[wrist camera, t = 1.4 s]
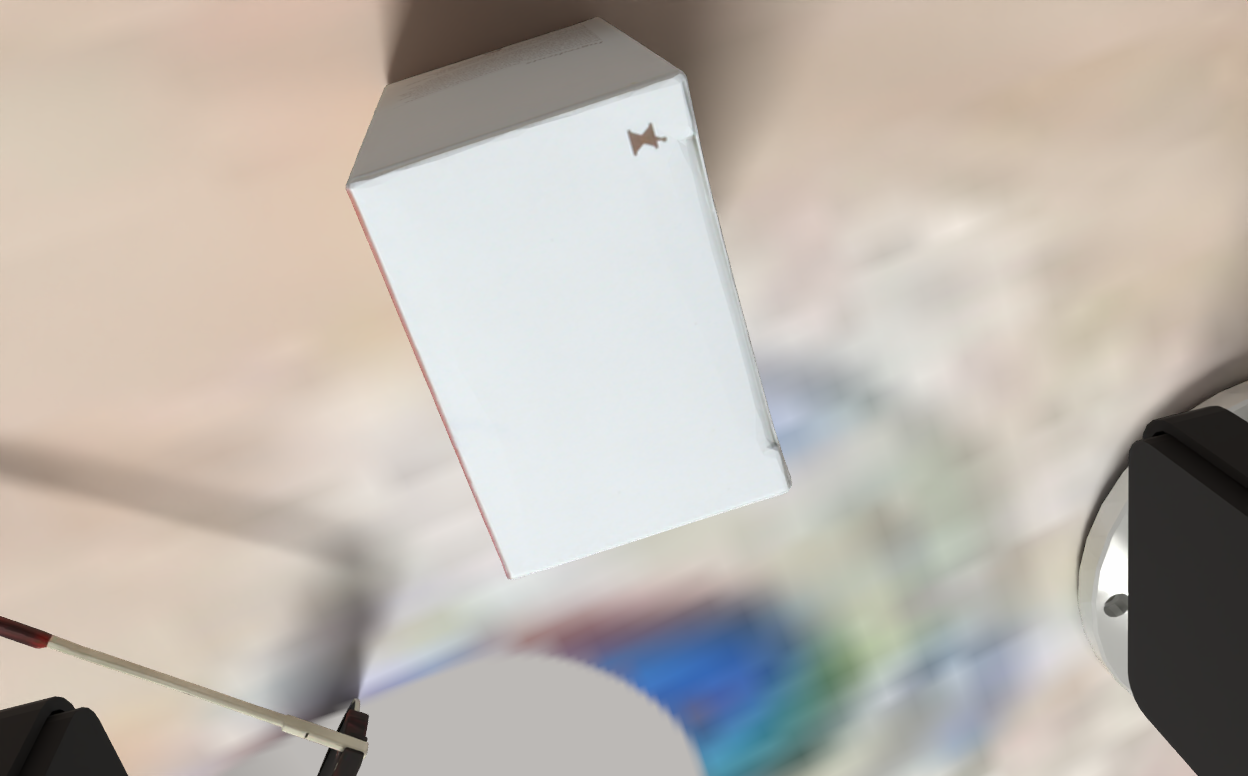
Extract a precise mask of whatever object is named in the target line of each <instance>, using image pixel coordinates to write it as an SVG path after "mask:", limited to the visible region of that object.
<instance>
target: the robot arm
mask: <svg viewBox="0 0 1248 776" xmlns="http://www.w3.org/2000/svg"><path fill="white" fill-rule="evenodd" d="M1078 605H1079V610H1080V615H1081V620H1082V625H1083V629H1084V633H1085V635H1086V637H1087V639H1088V641H1089V643H1090V645H1091V647H1092V649H1093V651H1094V653H1095V655H1096V657H1097V658H1098V659H1099V660H1100V661H1101V663H1102V664H1103V665H1104V666H1105V668H1106V669H1107V670H1108V671H1109V672H1110V674H1111V675H1112V676H1113V677H1114V679H1115V680H1116V681H1117V682H1118V683H1119V684H1120V685H1121V686H1122V687H1123V688H1124V689H1126V690H1127V691H1128V692H1129V693H1130V694H1131V695H1132V696H1133V697H1134V698H1135V701H1136V702H1137V704H1138V706H1139V708H1140V709H1141V711H1142V712H1143V713H1144V715H1145V716H1146V717H1147V719H1148V720H1149V721H1150V722H1151V723H1152V724H1153V725H1154V726H1155V728H1156V729H1157V730H1158V731H1159V732H1160V733H1161V734H1162V736H1163V737H1164V738H1165V739H1166V740H1167V741H1168V742H1169V744H1170V745H1171V746H1172V747H1173V748H1174V749H1175V750H1176V752H1177V753H1178V754H1179V755H1180V756H1181V757H1182V758H1183V759H1184V761H1185V762H1186V763H1187V764H1188V765H1189V766H1190V767H1191V769H1192V770H1193V771H1194V772H1195V773H1196V774H1197V775H1198V776H1248V381H1246V382H1243V383H1241V384H1238V385H1236V386H1234V387H1231V388H1229V389H1227V390H1224V391H1222V392H1219V393H1218V394H1216V395H1214V396H1213V397H1211V398H1209V399H1208V400H1206V401H1204V402H1203V403H1201V404H1200V405H1198V406H1196V407H1195V408H1193V409H1191V410H1190V411H1188V412H1184V413H1180V414H1176V415H1172V416H1168V417H1164V418H1160V419H1156V420H1153V421H1152V422H1150V423H1149V424H1148V425H1147V427H1146V429H1145V431H1144V433H1143V440H1139V441H1136V442H1135V443H1134V444H1132V446H1131V448H1130V451H1129V462H1128V467H1127V468H1126V470H1125V471H1124V472H1123V473H1122V475H1121V476H1120V478H1119V479H1118V481H1117V482H1116V484H1115V485H1114V487H1113V488H1112V490H1111V491H1110V493H1109V495H1108V496H1107V498H1106V499H1105V501H1104V502H1103V504H1102V505H1101V508H1100V510H1099V512H1098V514H1097V517H1096V519H1095V521H1094V524H1093V526H1092V528H1091V530H1090V533H1089V535H1088V537H1087V540H1086V544H1085V549H1084V553H1083V557H1082V561H1081V565H1080V569H1079V589H1078ZM0 776H128V774H127V773H126V771H125V769H124V767H123V765H122V763H121V761H120V759H119V757H118V755H117V753H116V751H115V749H114V747H113V746H112V744H111V742H110V740H109V738H108V736H107V734H106V732H105V730H104V728H103V726H102V724H101V722H100V720H99V719H98V717H97V716H96V714H95V713H94V712H93V711H92V710H90V709H89V708H85V707H81V708H78V709H75V708H74V707H73V705H72V704H71V703H70V702H69V701H67V700H66V699H65V698H62V697H56V696H55V697H51V698H47V699H43V700H39V701H35V702H31V703H27V704H23V705H19V706H15V707H11V708H7V709H3V710H0Z"/></svg>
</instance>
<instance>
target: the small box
mask: <svg viewBox="0 0 1248 776" xmlns="http://www.w3.org/2000/svg"><path fill="white" fill-rule="evenodd" d="M346 191H347V193H348V195H349V197H350V199H351V202H352V204H353V207H354V209H355V211H356V214H357V216H358V219H359V221H360V224H361V226H362V228H363V231H364V233H365V236H366V238H367V240H368V243H369V245H370V247H371V250H372V252H373V255H374V257H375V259H376V262H377V264H378V267H379V269H380V271H381V274H382V276H383V279H384V281H385V284H386V286H387V288H388V291H389V293H390V296H391V298H392V300H393V303H394V305H395V308H396V310H397V313H398V315H399V317H400V320H401V322H402V325H403V327H404V329H405V332H406V334H407V337H408V339H409V342H410V344H411V346H412V349H413V351H414V354H415V356H416V358H417V361H418V363H419V366H420V368H421V371H422V373H423V375H424V378H425V380H426V382H427V385H428V387H429V389H430V392H431V394H432V397H433V399H434V401H435V404H436V406H437V409H438V411H439V414H440V416H441V419H442V421H443V423H444V426H445V428H446V431H447V433H448V435H449V438H450V440H451V443H452V445H453V447H454V450H455V452H456V455H457V457H458V459H459V462H460V464H461V467H462V469H463V471H464V474H465V476H466V479H467V481H468V483H469V486H470V488H471V491H472V493H473V495H474V498H475V500H476V503H477V505H478V508H479V510H480V513H481V515H482V518H483V520H484V522H485V525H486V527H487V529H488V532H489V534H490V536H491V539H492V541H493V543H494V546H495V548H496V550H497V553H498V555H499V557H500V560H501V562H502V565H503V568H504V570H505V573H506V576H507V578H508V579H510V580H514V579H518V578H521V577H523V576H526V575H529V574H532V573H536V572H539V571H543V570H546V569H550V568H553V567H556V566H559V565H562V564H566V563H569V562H572V561H575V560H578V559H581V558H584V557H587V556H590V555H593V554H596V553H599V552H602V551H605V550H608V549H612V548H615V547H618V546H621V545H624V544H627V543H630V542H634V541H637V540H640V539H643V538H646V537H649V536H652V535H655V534H658V533H661V532H664V531H667V530H670V529H674V528H677V527H680V526H683V525H686V524H689V523H692V522H695V521H699V520H702V519H705V518H708V517H711V516H714V515H717V514H721V513H724V512H727V511H730V510H733V509H737V508H740V507H743V506H746V505H749V504H752V503H756V502H759V501H762V500H765V499H768V498H772V497H775V496H778V495H782V494H784V493H786V492H788V491H789V489H790V488H791V486H792V482H791V476H790V474H789V471H788V468H787V465H786V462H785V460H784V457H783V453H782V450H781V447H780V444H779V441H778V438H777V435H776V432H775V429H774V426H773V422H772V419H771V415H770V411H769V408H768V404H767V401H766V397H765V394H764V390H763V387H762V383H761V380H760V376H759V372H758V368H757V364H756V360H755V357H754V353H753V349H752V345H751V341H750V338H749V334H748V330H747V326H746V323H745V319H744V315H743V311H742V308H741V304H740V300H739V297H738V293H737V289H736V285H735V282H734V278H733V274H732V270H731V266H730V262H729V258H728V254H727V250H726V246H725V243H724V239H723V235H722V231H721V227H720V223H719V219H718V215H717V212H716V208H715V204H714V200H713V197H712V192H711V188H710V184H709V180H708V175H707V171H706V166H705V162H704V157H703V153H702V148H701V144H700V139H699V135H698V129H697V124H696V120H695V115H694V110H693V106H692V101H691V96H690V92H689V85H688V80H687V76H686V75H685V73H684V72H683V71H681V70H680V69H678V68H676V67H675V66H673V65H672V64H671V63H669V62H668V61H666V60H665V59H663V58H662V57H660V56H658V55H657V54H655V53H654V52H652V51H651V50H649V49H648V48H646V47H645V46H643V45H642V44H640V43H639V42H637V41H636V40H634V39H633V38H631V37H629V36H628V35H626V34H625V33H624V32H622V31H620V30H619V29H617V28H616V27H614V26H613V25H611V24H609V23H608V22H607V21H605V20H603V19H602V18H600V17H596V18H593V19H590V20H587V21H584V22H581V23H578V24H576V25H573V26H570V27H566V28H563V29H560V30H557V31H554V32H550V33H547V34H544V35H541V36H538V37H535V38H531V39H528V40H525V41H522V42H519V43H516V44H513V45H509V46H506V47H503V48H500V49H497V50H494V51H491V52H488V53H485V54H482V55H479V56H476V57H473V58H470V59H466V60H463V61H460V62H457V63H454V64H451V65H448V66H444V67H441V68H438V69H435V70H432V71H429V72H426V73H423V74H420V75H417V76H413V77H410V78H407V79H404V80H401V81H398V82H395V83H392V84H389V85H387V86H386V87H385V88H384V90H383V93H382V95H381V98H380V100H379V102H378V105H377V108H376V109H375V112H374V115H373V118H372V120H371V123H370V125H369V127H368V130H367V133H366V136H365V138H364V140H363V143H362V145H361V148H360V150H359V153H358V155H357V158H356V161H355V164H354V166H353V168H352V171H351V173H350V176H349V179H348V181H347V184H346Z"/></svg>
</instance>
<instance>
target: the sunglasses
mask: <svg viewBox="0 0 1248 776" xmlns="http://www.w3.org/2000/svg"><path fill="white" fill-rule="evenodd" d="M0 636H2V637H5V638H8V639H11V640H14V641H16V642H19V643H22V644H25V645H28V646H31V647H34V648H44V647H48V648H51V649H54V650H56V651H59V652H62V653H65V654H68V655H71V656H74V657H77V658H80V659H83V660H86V661H89V662H91V663H94V664H97V665H100V666H103V667H106V668H110V669H113V670H116V671H119V672H122V673H125V674H128V675H131V676H134V677H137V678H140V679H143V680H146V681H149V682H152V683H155V684H158V685H161V686H164V687H167V688H170V689H173V690H177V691H180V692H183V693H186V694H188V695H191V696H194V697H197V698H200V699H203V700H206V701H209V702H211V703H214V704H217V705H220V706H223V707H226V708H229V709H231V710H234V711H237V712H240V713H243V714H246V715H249V716H252V717H254V718H257V719H260V720H263V721H266V722H269V723H272V724H274V725H277V726H280V727H282V731H284V732H286V733H289V734H292V735H295V736H298V737H301V738H303V739H305V738H306V739H307V740H309V741H313V742H315V743H318V744H321V745H324V746H327V747H329V748H328V751H327V753H326V756H325V758H324V760H323V763H322V765H321V767H320V770H319V772H318V775H317V776H356V775H357V772H358V770H359V768H360V766H361V763H362V760H363V759H364V758H365V757H366V755H367V751H368V742H367V737H365V736H366V731H367V725H368V718H369V716H368V715H367V714H365V713H362V712H359V710H360V700H359V699H356V698H355V699H353V701H352V706H351V708H350V709H348V710H347V711H346V713H345V715H344V717H343V719H342V721H341V723H340V725H339V727H338V729H337V731H334V730H331V729H328V728H325V727H322V726H320V725H317V724H314V723H311V722H308V721H305V720H302V719H300V718H297V717H294V716H291V715H284V714H281V713H278V712H275V711H272V710H269V709H266V708H263V707H259V706H256V705H254V704H251V703H248V702H245V701H242V700H239V699H236V698H233V697H231V696H228V695H225V694H222V693H219V692H216V691H213V690H211V689H208V688H205V687H202V686H199V685H196V684H193V683H190V682H187V681H184V680H181V679H178V678H175V677H172V676H169V675H167V674H164V673H161V672H158V671H155V670H152V669H149V668H146V667H143V666H140V665H137V664H134V663H131V662H128V661H125V660H122V659H120V658H117V657H114V656H111V655H108V654H105V653H102V652H99V651H96V650H93V649H90V648H87V647H83V646H81V645H78V644H75V643H73V642H70V641H67V640H65V639H62V638H59V637H57V636H54V635H52V634H49V633H47V632H45V631H42V630H39V629H36V628H33V627H30V626H27V625H25V624H22V623H19V622H16V621H13V620H10V619H7V618H5V617H1V616H0Z"/></svg>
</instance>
